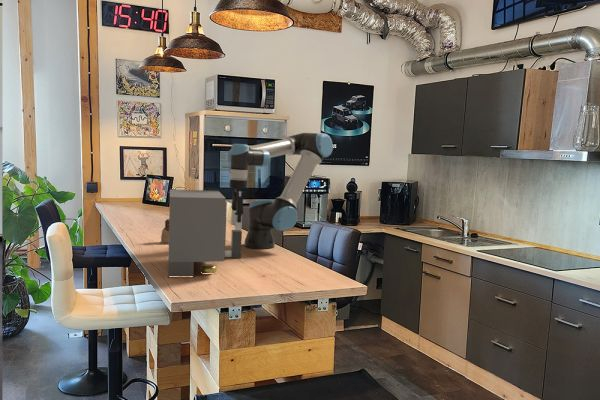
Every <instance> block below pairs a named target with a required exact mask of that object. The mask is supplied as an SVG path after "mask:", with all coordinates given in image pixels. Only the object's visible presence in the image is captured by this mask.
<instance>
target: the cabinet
mask: <svg viewBox="0 0 600 400" xmlns="http://www.w3.org/2000/svg"><path fill="white" fill-rule="evenodd" d="M226 199H227V198H226V197H225V196H224V195H223V194H222V193H221V192H220V191H219V190H204V189H197V190H196V189H169V213H168V214H169V218H168V219H169V244H168V268H167V269H168V271H167V272H168V274H167V275H168V276H193V277H194V264H195V262H196V263H200V262H202V263H204V262H209V263H210V262H224V259H225V258H224V257H225V250H226V242H227V240H226V239H227V238H226V237H227V235H226V234H227V213H228V211H227V210H228V209H227V206H228V201H227V200H226Z"/></svg>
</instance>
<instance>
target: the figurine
mask: <svg viewBox="0 0 600 400" xmlns="http://www.w3.org/2000/svg"><path fill="white" fill-rule="evenodd" d="M164 226H165V227H164V228H163V229H162V230H161V236H160V238H161V239H160V243H161V244H162V243H163V245H169V218H167V219H166V220H165V221H164Z"/></svg>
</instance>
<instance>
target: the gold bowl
mask: <svg viewBox="0 0 600 400" xmlns="http://www.w3.org/2000/svg"><path fill="white" fill-rule="evenodd" d="M201 272H202V273H215V272H216V273H217V265H216V264H213V263H205V264H201V265H200V273H201Z"/></svg>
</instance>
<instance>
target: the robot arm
mask: <svg viewBox="0 0 600 400" xmlns="http://www.w3.org/2000/svg"><path fill="white" fill-rule="evenodd" d="M333 150H334V146H333V140H332V138H331V136H330V135H328V134H327V133H323V132H316V133H315V132H300V133H297V134H292V135H289V136H285V137H283V138H282V139H279V140H275V141H270V142H264V143H258V144H254V145H250V146H249V145H248V144H243V143H242V144H241V143H233V144H231V149H229V151H228V153H227V159H228V161H229V163H230V171H228V174H229V178H230V180H229V188H230V189H232V200H231V207H230V208H231V221H230V223H231V224H230V225H232V226H234V230H241V231H242V230H243V229H242V228H243V226H242V225H243V215H244V192H243V191H242V190H243V189H244V190H245V189H247V187H248V171H249V170H248V167H260V168H262V167H267V166H268V165H269V164H270V163H271V158H275V157H276V158H277V157H280V156H283V155H284V156H285V155H287V156H293V155H294V156H295V155H296V156H298V155H299V156H300V159H299V160H298V162H297V164H296V166H295V167H294V170H293V172H292V174H291V175H290V177H289V179H288V182H287V183H286V185H285V187H284V189H283V191H282V193H281V194H280V196H278V197H275V198H274V201H273V200H272V199H265V200H264V199H263V200H251V201H250V202H249V207H248V230H247V234H246V235H245V236H246V237H245V239H244V243H243V244H244V245H243V246H245V247H246V248H249V249H255V250H258V249H259V250H261V249H262V250H264V249H265V250H267V249H273V248H274V247H276V246H275V245H276V242H275V238H274V235H273V234H274V233H273V231H272V230H273V229H275V230H277V231H289V230H291V229H292V228H293V227H294V226H295V225H296V223H297V222H298V211H297V210H298V207H297V204H298V202H299V200H300V198H301V196H302V194H303V192H304V190H305V188H306V186H307V185H308V182H309V180H310V178H311V177H312V174H313V173H314V171H315V169H316V167H317V165H320V164H322V162H323V160H324V158H327V157H329V156H331V155H332V153H333Z"/></svg>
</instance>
